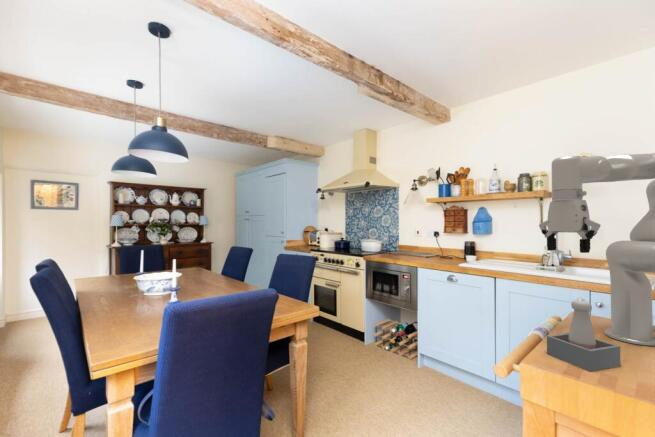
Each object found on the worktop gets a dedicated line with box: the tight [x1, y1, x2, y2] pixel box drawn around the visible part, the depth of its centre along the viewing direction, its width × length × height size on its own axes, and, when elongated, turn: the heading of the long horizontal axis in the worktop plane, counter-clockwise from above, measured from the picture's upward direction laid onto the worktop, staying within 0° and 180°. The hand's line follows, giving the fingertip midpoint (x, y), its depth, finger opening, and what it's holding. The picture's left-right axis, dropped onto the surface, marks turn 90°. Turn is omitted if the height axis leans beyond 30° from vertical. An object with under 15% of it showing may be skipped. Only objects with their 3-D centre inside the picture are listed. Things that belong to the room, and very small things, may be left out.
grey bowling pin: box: [568, 299, 596, 350], centre depth 82 cm, size 6×6×13 cm
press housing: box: [546, 332, 621, 372], centre depth 82 cm, size 11×11×5 cm
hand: (567, 251), depth 94 cm, fingers open, 9 cm apart
